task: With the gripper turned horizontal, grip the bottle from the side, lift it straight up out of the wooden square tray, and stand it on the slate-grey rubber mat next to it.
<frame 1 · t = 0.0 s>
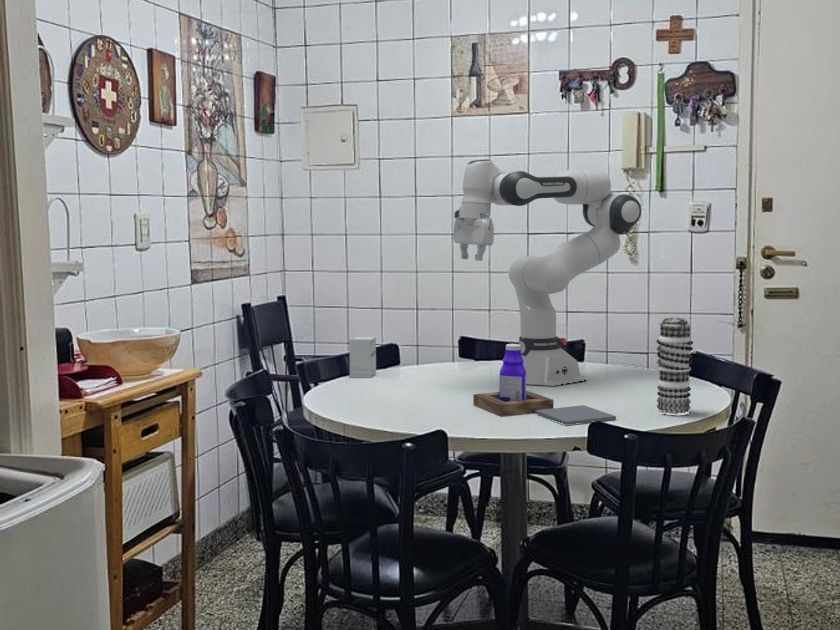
hand: (471, 259, 283), 39 cm above the table, tool pointing down, fingers open, 8 cm apart
wooden square tray: (512, 407, 257), on the table
supplement box: (363, 376, 309), on the table
slate mat: (574, 416, 245), on the table
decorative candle: (673, 413, 249), on the table
bottle: (512, 408, 257), resting in wooden square tray
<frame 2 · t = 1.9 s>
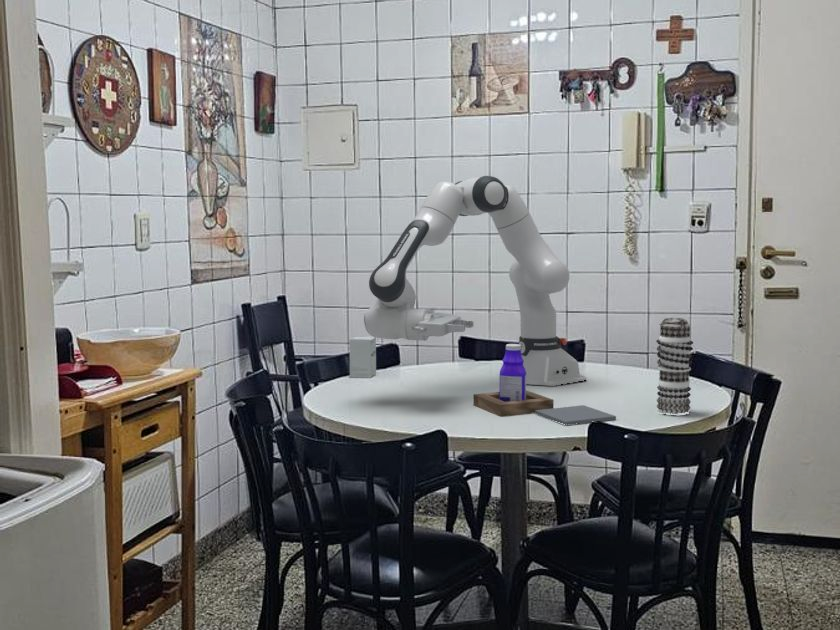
hand: (468, 326, 258), 22 cm above the table, tool horizontal, fingers open, 8 cm apart
nothing on the table moved.
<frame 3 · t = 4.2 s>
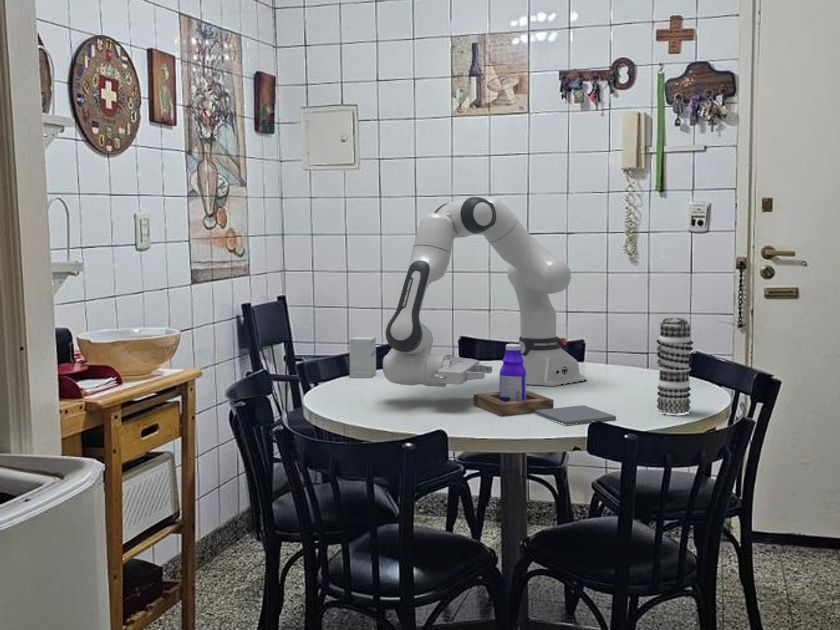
hand: (487, 372, 259), 9 cm above the table, tool horizontal, fingers open, 8 cm apart
nothing on the table moved.
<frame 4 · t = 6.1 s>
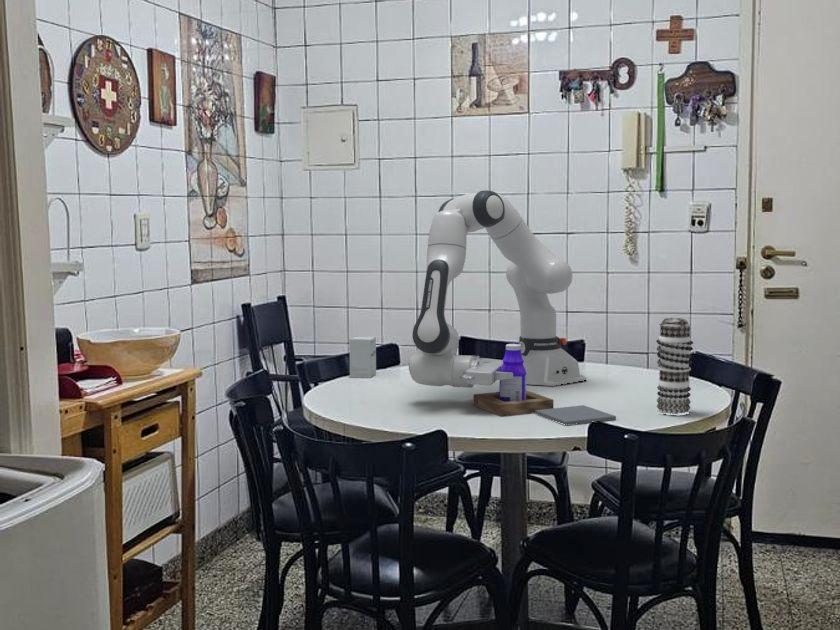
hand: (516, 373, 256), 10 cm above the table, tool horizontal, fingers closed on bottle, 6 cm apart
bottle: (512, 408, 257), resting in wooden square tray, touching gripper
everything else where it was.
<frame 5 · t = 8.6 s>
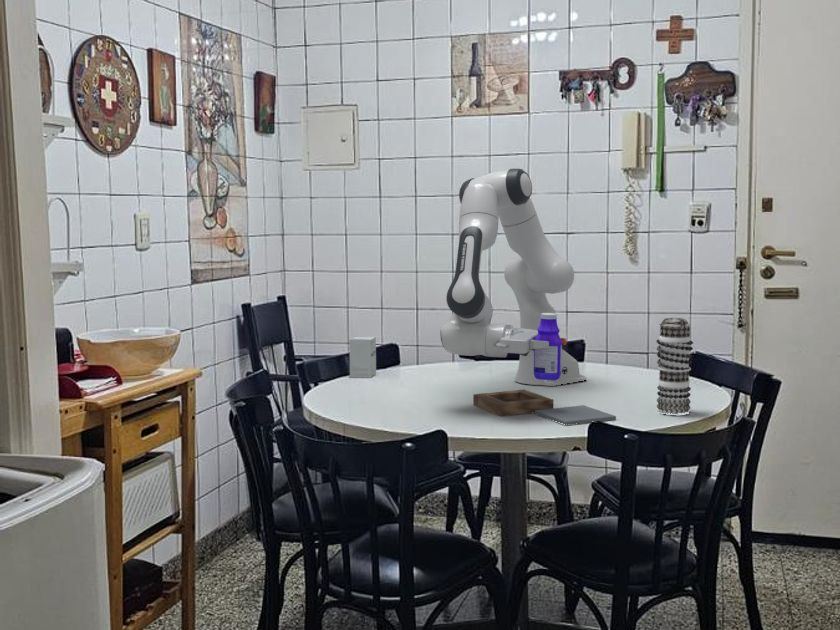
hand: (551, 342, 248), 19 cm above the table, tool horizontal, fingers closed on bottle, 6 cm apart
bottle: (547, 379, 249), point 9 cm above the table, touching gripper
everything else where it was.
when the fingers open (12 cm above the table, at t = 11.3 s): bottle drops 1 cm, resting on slate mat.
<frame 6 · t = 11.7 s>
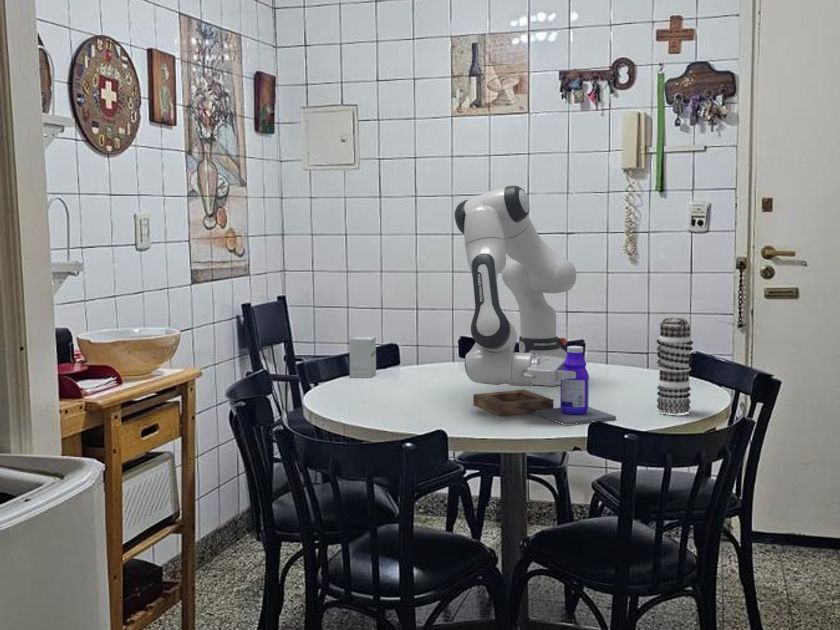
hand: (578, 371, 244), 12 cm above the table, tool horizontal, fingers open, 8 cm apart
bottle: (574, 413, 245), point 1 cm above the table, touching slate mat
everything else where it was.
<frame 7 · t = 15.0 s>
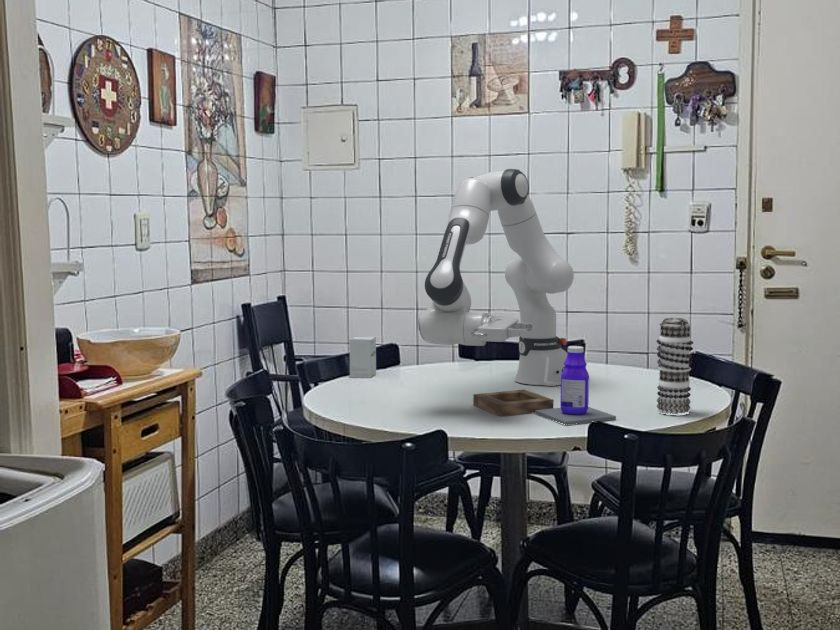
hand: (529, 329, 246), 22 cm above the table, tool horizontal, fingers open, 8 cm apart
nothing on the table moved.
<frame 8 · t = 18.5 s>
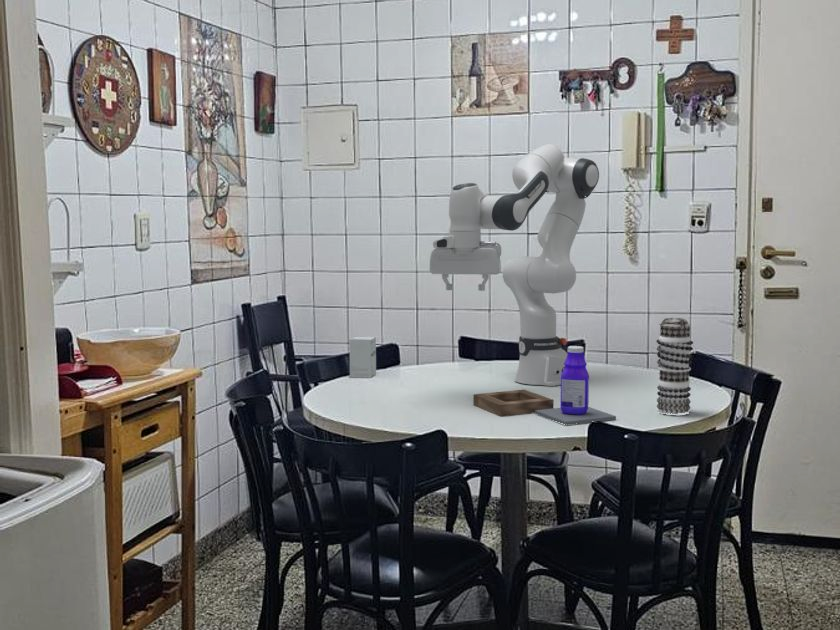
hand: (465, 290, 267), 31 cm above the table, tool pointing down, fingers open, 8 cm apart
nothing on the table moved.
at the end: bottle inside the target area on the slate mat (0.1 cm from its centre), point 0.8 cm above the slate mat's base; bottle tilted 0°; the gripper is holding nothing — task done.
